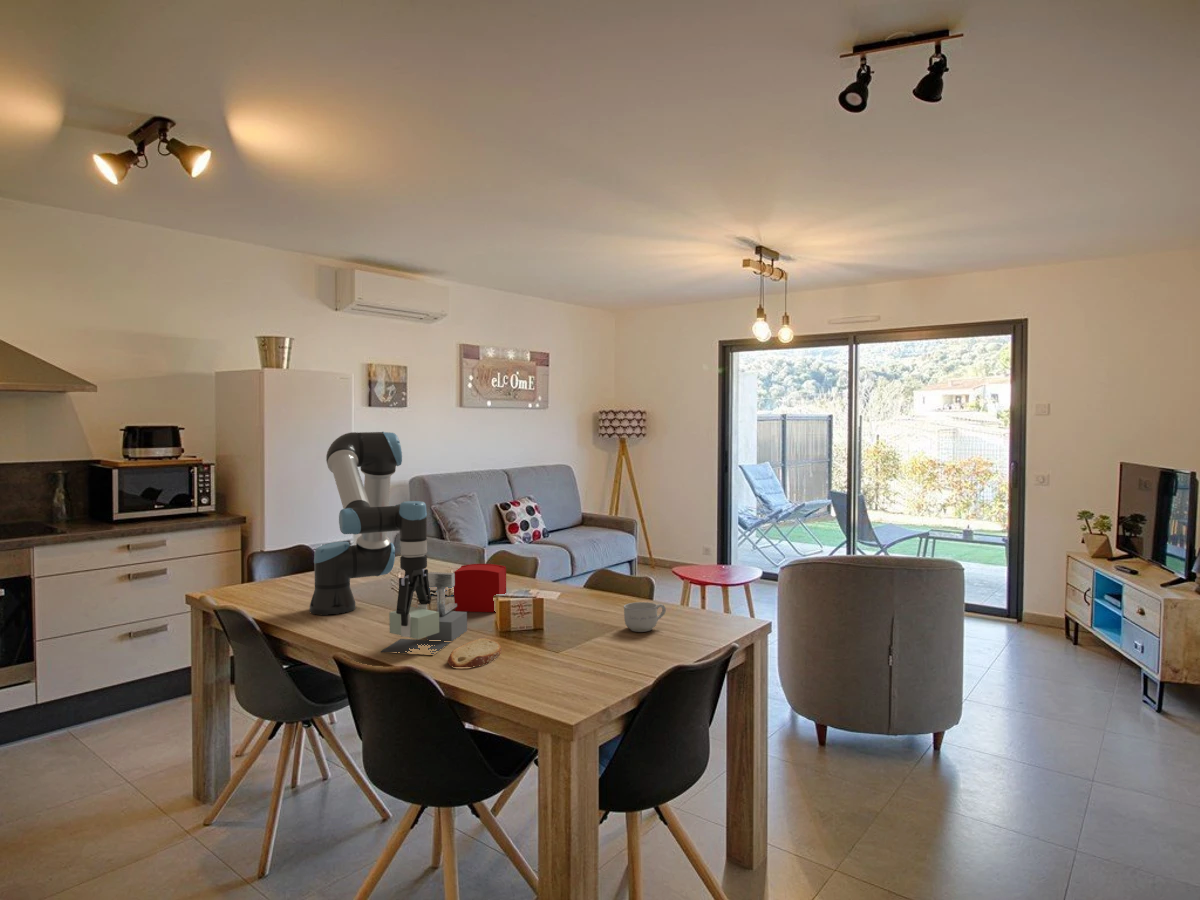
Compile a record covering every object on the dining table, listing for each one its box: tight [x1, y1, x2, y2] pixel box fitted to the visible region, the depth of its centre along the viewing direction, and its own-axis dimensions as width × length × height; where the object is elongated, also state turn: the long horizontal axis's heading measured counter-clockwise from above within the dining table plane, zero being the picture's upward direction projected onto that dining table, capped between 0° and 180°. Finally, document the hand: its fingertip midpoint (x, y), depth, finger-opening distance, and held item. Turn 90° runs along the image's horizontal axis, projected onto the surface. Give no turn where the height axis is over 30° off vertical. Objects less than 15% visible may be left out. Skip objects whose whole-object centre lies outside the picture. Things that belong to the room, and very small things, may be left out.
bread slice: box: [447, 637, 502, 667], centre depth 200 cm, size 18×18×4 cm
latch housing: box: [426, 610, 468, 642], centre depth 220 cm, size 8×12×6 cm, turn 168°
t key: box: [428, 571, 457, 616], centre depth 224 cm, size 11×8×13 cm
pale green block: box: [388, 606, 439, 640], centre depth 207 cm, size 12×8×6 cm, turn 57°
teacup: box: [623, 601, 667, 633], centre depth 226 cm, size 14×11×8 cm
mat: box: [380, 638, 451, 654], centre depth 208 cm, size 16×12×1 cm
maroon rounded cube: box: [453, 563, 507, 613], centre depth 252 cm, size 16×11×15 cm
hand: (414, 631), depth 207 cm, fingers closed on pale green block, 10 cm apart
